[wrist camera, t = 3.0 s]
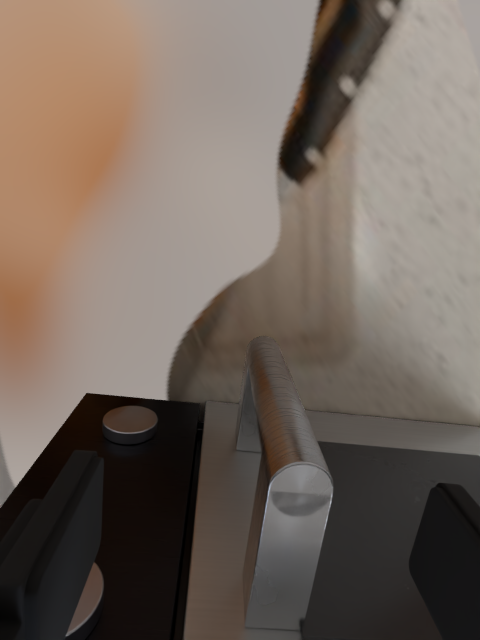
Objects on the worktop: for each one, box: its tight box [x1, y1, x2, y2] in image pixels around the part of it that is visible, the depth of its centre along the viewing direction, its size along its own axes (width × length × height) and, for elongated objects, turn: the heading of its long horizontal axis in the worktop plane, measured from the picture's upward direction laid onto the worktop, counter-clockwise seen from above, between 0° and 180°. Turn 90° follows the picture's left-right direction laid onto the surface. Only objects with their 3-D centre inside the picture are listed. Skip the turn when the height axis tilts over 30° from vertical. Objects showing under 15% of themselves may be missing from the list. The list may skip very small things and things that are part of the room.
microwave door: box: [182, 336, 480, 640], centre depth 19 cm, size 8×22×20 cm, turn 83°
